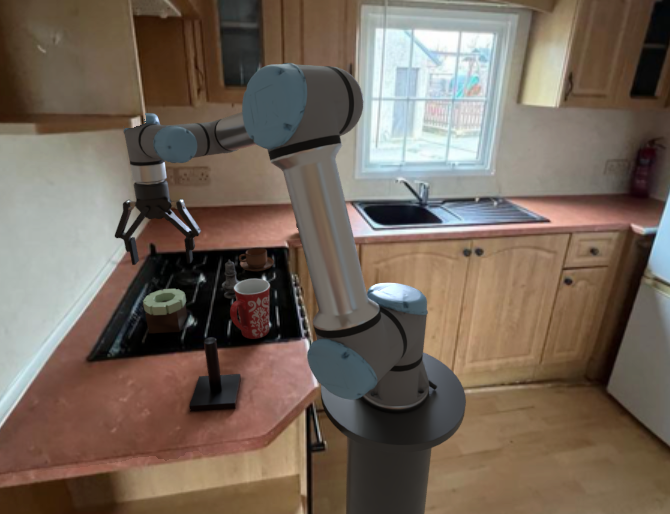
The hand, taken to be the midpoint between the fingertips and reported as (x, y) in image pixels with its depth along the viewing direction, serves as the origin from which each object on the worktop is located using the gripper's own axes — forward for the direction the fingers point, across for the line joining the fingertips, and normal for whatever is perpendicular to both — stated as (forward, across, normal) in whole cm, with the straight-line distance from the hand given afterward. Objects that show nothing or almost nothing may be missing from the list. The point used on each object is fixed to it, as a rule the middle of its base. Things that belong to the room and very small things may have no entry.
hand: (163, 262), depth 106 cm
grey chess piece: (+19, -14, -16) cm, 29 cm away
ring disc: (+13, +1, 0) cm, 13 cm away
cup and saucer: (+19, -20, -36) cm, 45 cm away
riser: (+19, +1, 0) cm, 19 cm away
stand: (+18, -17, +29) cm, 38 cm away
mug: (+19, -22, +7) cm, 30 cm away
